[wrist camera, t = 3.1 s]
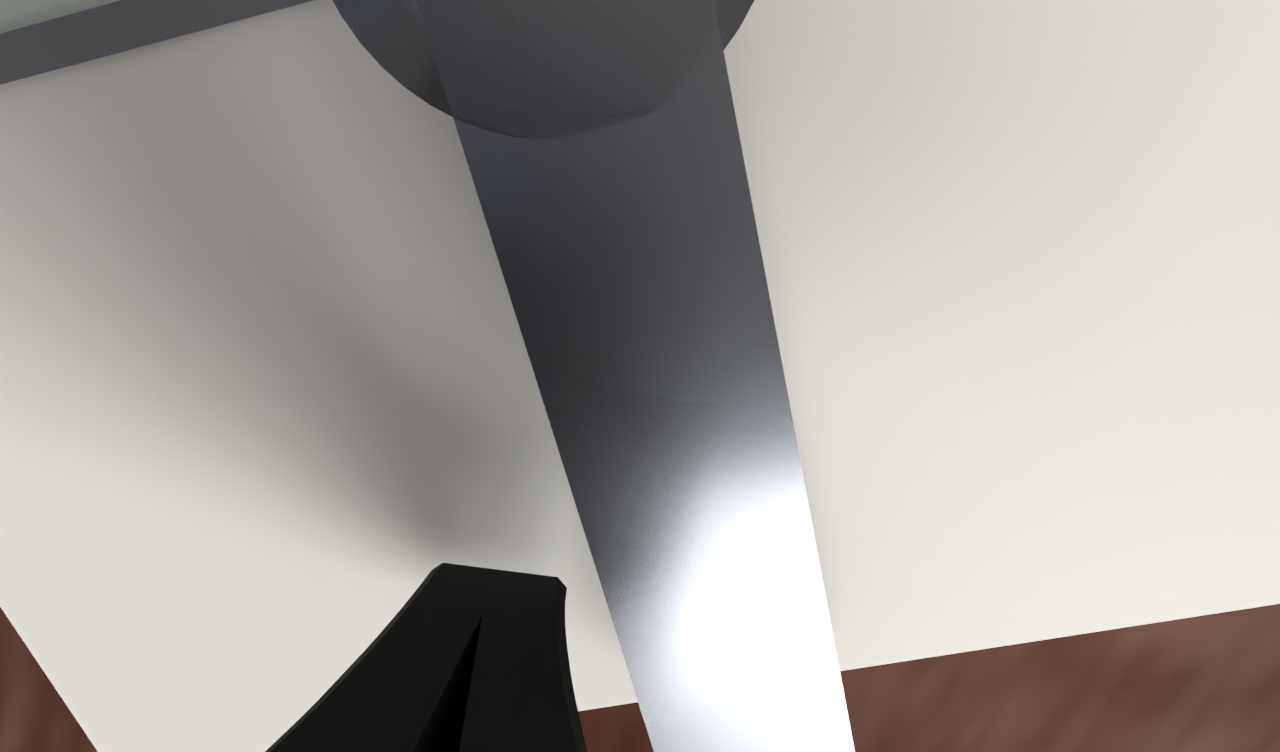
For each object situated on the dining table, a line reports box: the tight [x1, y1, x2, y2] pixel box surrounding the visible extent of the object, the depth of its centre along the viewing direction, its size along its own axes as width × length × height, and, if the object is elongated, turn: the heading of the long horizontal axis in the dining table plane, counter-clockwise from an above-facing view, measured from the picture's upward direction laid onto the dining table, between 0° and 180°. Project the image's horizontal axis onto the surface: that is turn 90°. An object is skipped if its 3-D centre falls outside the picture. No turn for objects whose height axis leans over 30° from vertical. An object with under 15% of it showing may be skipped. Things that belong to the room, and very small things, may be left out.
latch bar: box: [333, 0, 855, 752], centre depth 8 cm, size 11×3×1 cm, turn 13°
